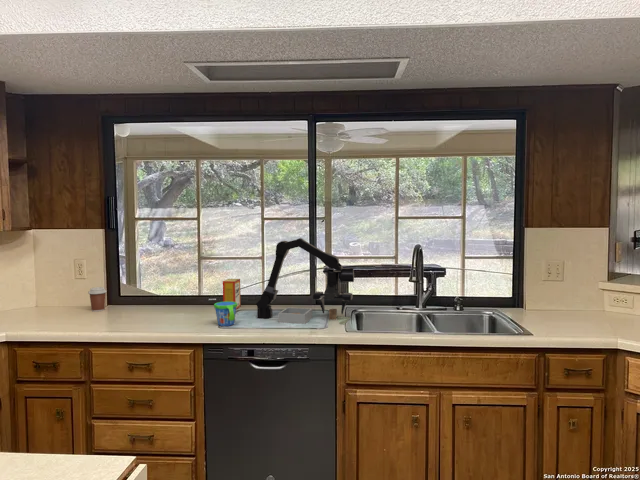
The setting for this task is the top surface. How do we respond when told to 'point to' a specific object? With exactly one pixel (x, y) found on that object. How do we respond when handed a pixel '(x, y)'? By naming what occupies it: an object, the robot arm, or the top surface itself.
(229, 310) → the snack cup
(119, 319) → the top surface
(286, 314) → the bin
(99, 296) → the coffee cup
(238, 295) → the baking soda box
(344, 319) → the lid
